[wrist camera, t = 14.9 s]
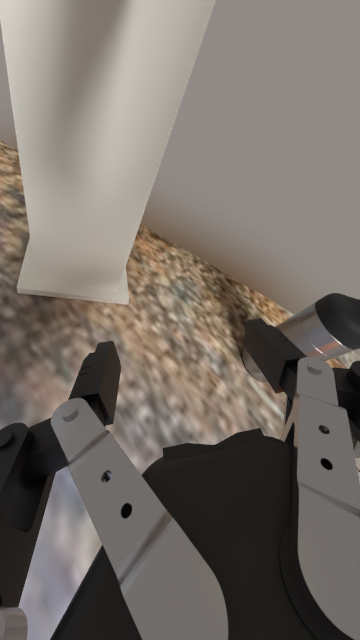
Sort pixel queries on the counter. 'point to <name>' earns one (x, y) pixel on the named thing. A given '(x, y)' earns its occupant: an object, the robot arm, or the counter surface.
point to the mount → (93, 128)
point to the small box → (357, 454)
